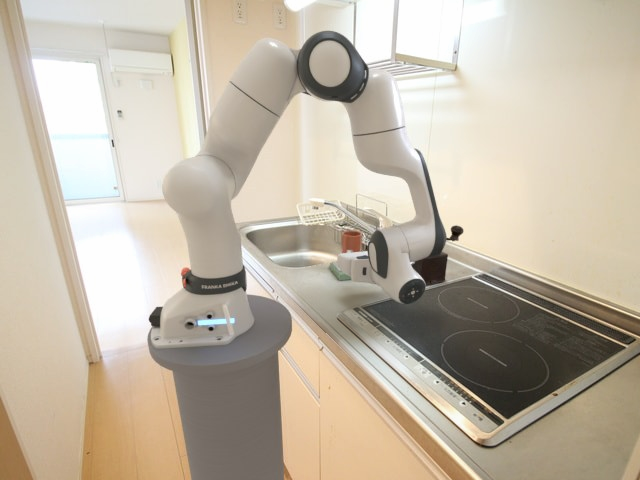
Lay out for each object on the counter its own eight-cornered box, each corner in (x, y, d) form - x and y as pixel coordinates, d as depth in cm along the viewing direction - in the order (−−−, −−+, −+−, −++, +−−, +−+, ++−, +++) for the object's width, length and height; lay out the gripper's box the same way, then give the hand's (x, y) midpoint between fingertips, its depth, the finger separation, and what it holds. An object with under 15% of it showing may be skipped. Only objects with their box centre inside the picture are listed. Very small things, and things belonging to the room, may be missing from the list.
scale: (339, 280, 115) (340, 273, 114) (329, 268, 124) (329, 261, 123) (371, 276, 118) (372, 269, 117) (359, 265, 128) (359, 258, 127)
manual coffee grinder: (420, 287, 111) (426, 231, 105) (400, 274, 121) (404, 222, 114) (459, 280, 118) (467, 226, 111) (437, 268, 127) (443, 218, 121)
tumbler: (345, 269, 117) (345, 237, 113) (338, 262, 122) (339, 231, 118) (363, 267, 119) (365, 235, 115) (356, 260, 124) (357, 230, 121)
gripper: (419, 252, 98) (395, 238, 110) (347, 259, 91) (331, 243, 103) (416, 274, 100) (394, 257, 112) (347, 282, 93) (331, 264, 105)
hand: (363, 251), depth 107 cm, fingers open, 8 cm apart
